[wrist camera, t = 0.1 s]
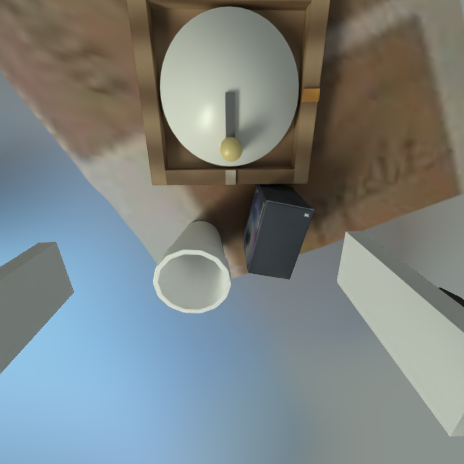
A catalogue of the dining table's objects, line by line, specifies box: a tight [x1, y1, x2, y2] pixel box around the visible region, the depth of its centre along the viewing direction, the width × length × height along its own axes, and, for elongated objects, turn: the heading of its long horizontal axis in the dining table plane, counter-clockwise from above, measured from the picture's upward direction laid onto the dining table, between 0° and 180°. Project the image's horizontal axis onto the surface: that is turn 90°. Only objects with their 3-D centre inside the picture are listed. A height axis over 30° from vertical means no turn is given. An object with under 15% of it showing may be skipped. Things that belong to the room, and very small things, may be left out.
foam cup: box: [153, 221, 231, 313], centre depth 35 cm, size 10×9×13 cm
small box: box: [243, 184, 314, 279], centre depth 35 cm, size 11×6×10 cm, turn 169°
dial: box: [160, 7, 299, 166], centre depth 29 cm, size 17×17×6 cm
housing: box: [127, 0, 330, 185], centre depth 31 cm, size 22×22×4 cm
